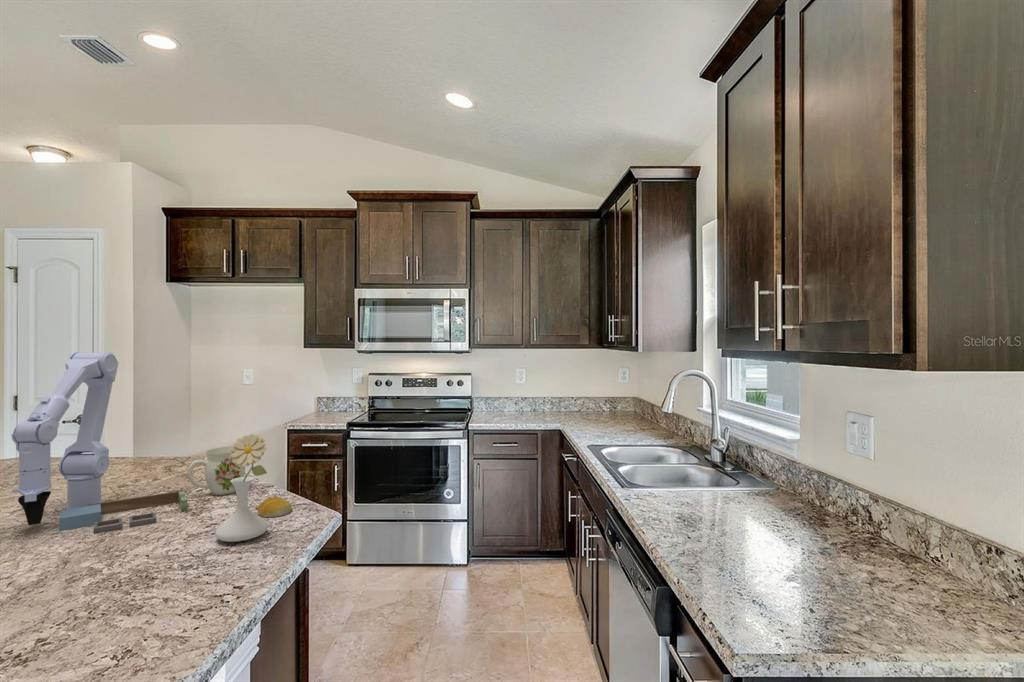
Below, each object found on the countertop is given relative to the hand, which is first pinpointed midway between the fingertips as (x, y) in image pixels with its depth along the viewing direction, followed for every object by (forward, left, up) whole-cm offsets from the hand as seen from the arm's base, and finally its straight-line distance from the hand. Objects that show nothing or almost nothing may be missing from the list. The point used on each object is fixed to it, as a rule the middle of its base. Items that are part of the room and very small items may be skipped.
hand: (34, 523), depth 126 cm
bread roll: (+21, +50, -2) cm, 55 cm away
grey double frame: (+9, +18, -2) cm, 20 cm away
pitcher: (-8, +42, -2) cm, 43 cm away
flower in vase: (+37, +41, -2) cm, 55 cm away
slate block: (0, +9, -2) cm, 9 cm away
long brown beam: (0, +21, -2) cm, 21 cm away
